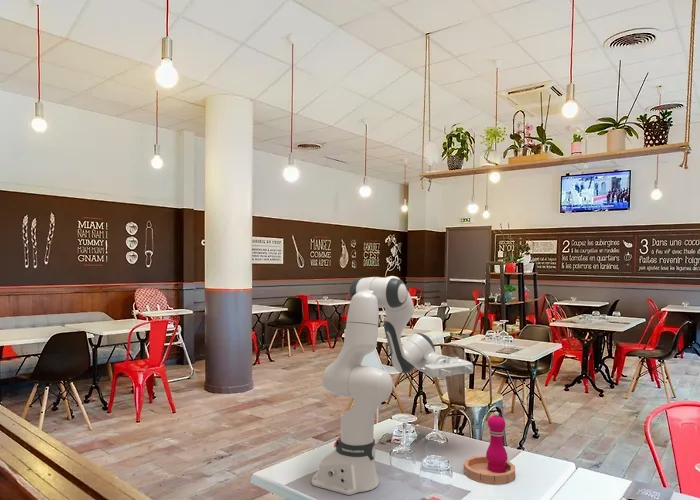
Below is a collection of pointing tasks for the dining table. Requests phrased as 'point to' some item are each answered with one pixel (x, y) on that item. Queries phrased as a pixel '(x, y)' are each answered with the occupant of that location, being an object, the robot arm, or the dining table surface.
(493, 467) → the pepper mill
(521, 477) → the dining table surface
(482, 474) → the round tray
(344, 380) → the robot arm
